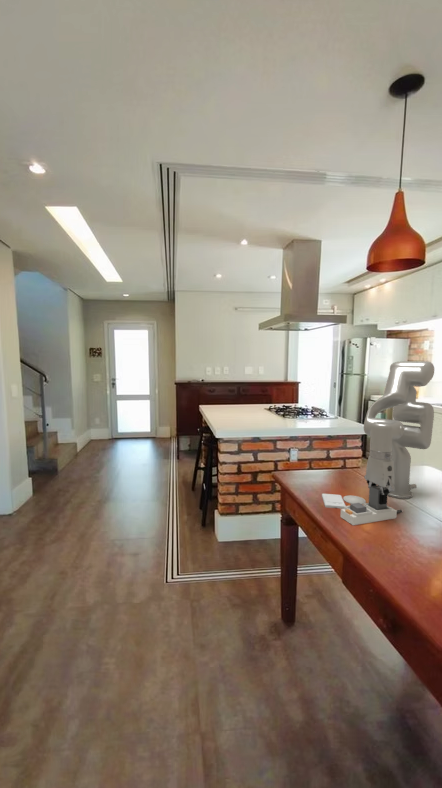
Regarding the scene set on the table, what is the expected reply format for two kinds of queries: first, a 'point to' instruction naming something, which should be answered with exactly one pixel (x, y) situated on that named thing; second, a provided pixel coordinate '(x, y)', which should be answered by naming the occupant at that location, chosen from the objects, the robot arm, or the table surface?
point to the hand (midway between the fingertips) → (377, 500)
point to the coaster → (354, 499)
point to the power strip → (366, 513)
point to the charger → (375, 498)
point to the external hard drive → (333, 501)
